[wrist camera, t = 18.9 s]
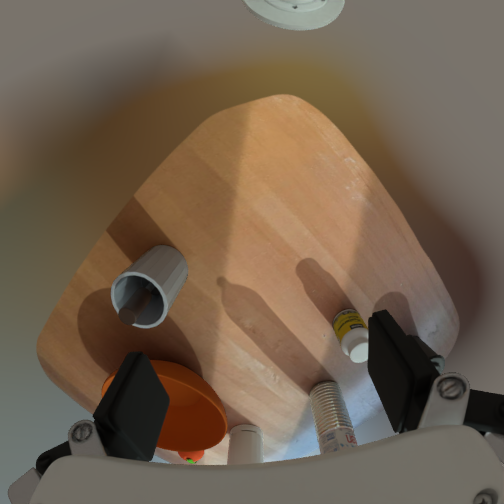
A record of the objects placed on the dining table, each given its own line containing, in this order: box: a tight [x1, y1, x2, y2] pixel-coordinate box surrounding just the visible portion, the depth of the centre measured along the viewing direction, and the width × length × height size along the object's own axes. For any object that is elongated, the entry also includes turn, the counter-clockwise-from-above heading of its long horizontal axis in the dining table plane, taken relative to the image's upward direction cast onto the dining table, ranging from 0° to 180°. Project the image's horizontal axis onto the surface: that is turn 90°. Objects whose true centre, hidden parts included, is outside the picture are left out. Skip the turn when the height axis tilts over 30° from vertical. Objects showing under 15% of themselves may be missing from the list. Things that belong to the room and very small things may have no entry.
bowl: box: [102, 360, 227, 452], centre depth 48 cm, size 25×25×10 cm
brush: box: [118, 277, 161, 325], centre depth 37 cm, size 4×4×15 cm
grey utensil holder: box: [111, 245, 188, 328], centre depth 39 cm, size 8×8×12 cm
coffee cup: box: [413, 336, 445, 374], centre depth 45 cm, size 8×8×10 cm
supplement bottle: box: [333, 309, 368, 363], centre depth 43 cm, size 5×5×10 cm
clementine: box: [178, 450, 204, 463], centre depth 56 cm, size 8×7×7 cm
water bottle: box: [309, 381, 358, 454], centre depth 41 cm, size 7×7×25 cm
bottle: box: [227, 424, 264, 465], centre depth 45 cm, size 8×8×28 cm
